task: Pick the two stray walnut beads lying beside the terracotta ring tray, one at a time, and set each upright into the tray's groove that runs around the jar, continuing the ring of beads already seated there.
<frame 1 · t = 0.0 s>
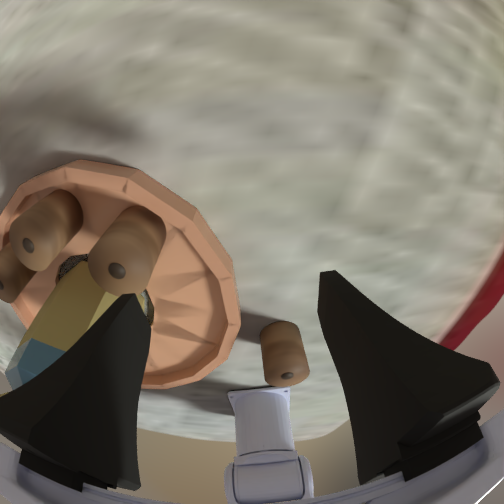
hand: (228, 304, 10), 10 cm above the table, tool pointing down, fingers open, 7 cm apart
bead seated 1: (140, 231, 18), point 1 cm above the table, touching dish
bead seated 2: (63, 213, 17), point 1 cm above the table, touching dish
jar: (105, 295, 23), resting in dish
bead a: (279, 334, 26), on the table
bead seated 3: (28, 251, 18), point 1 cm above the table, touching dish
dish: (104, 297, 22), on the table
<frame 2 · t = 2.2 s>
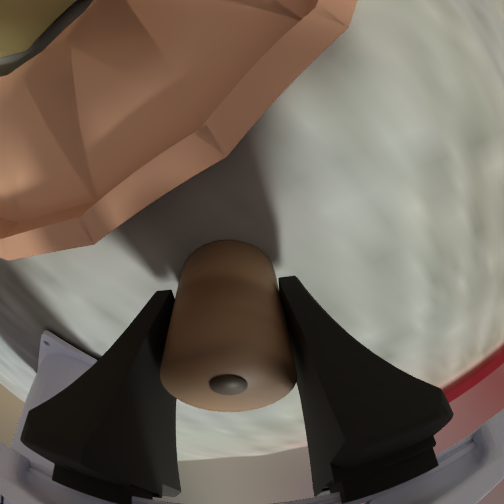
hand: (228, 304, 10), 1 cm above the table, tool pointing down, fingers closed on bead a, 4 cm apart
bead a: (228, 281, 11), on the table, touching gripper
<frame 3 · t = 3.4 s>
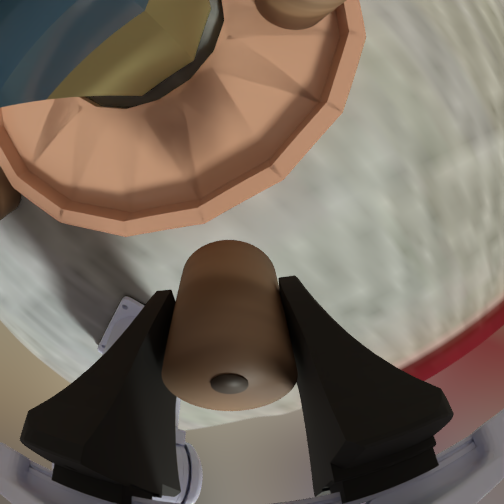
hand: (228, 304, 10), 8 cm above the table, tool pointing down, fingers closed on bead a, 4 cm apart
bead b: (6, 188, 14), on the table
bead seated 1: (290, 2, 10), point 1 cm above the table, touching dish
jar: (137, 32, 11), resting in dish
bead a: (229, 281, 11), point 7 cm above the table, touching gripper
dish: (136, 30, 11), on the table
when the fingers open (3 cm above the table, at t = 5.2 s): bead a stays where it is, resting on dish.
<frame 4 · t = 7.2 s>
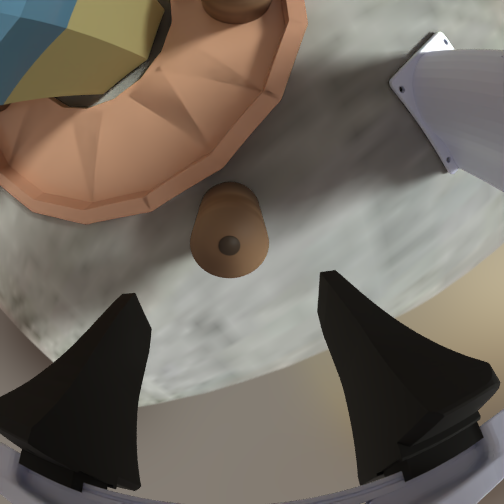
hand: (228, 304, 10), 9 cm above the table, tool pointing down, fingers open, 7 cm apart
bead b: (229, 210, 18), on the table
jar: (102, 36, 11), resting in dish
dish: (98, 36, 11), on the table
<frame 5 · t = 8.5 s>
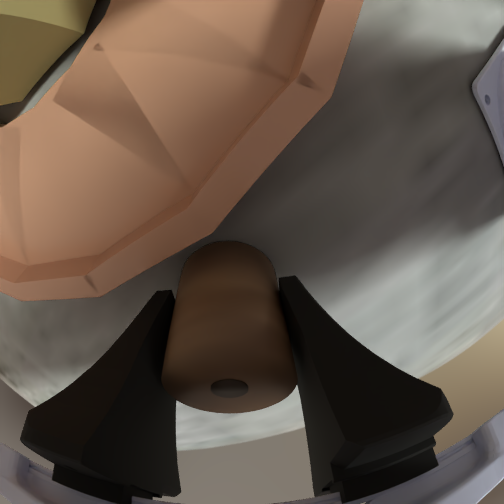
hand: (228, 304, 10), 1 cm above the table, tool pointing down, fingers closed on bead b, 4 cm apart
bead b: (228, 282, 11), on the table, touching gripper
jar: (32, 13, 4), resting in dish
dish: (26, 15, 4), on the table
when the fingers open (3 cm above the table, at t = 11.5 s): bead b stays where it is, resting on dish.
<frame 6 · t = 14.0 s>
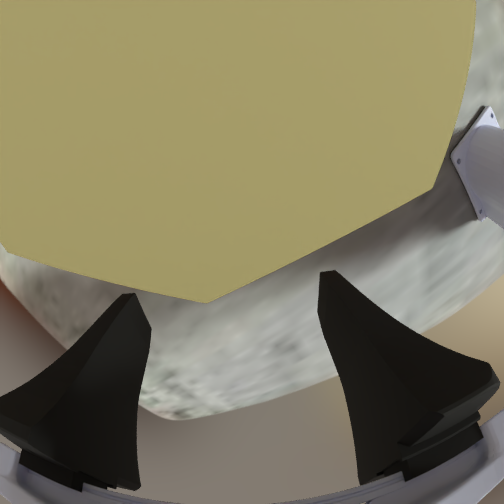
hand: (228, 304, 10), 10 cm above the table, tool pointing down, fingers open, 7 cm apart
jar: (218, 78, 14), resting in dish
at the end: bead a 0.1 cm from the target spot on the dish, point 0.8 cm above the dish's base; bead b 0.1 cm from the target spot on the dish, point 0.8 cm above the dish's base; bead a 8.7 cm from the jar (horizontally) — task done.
